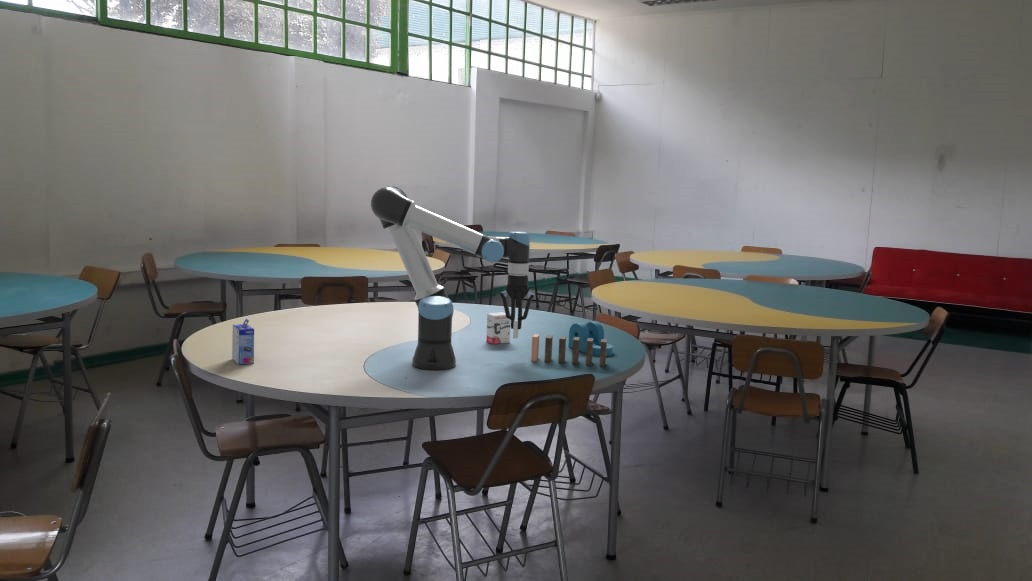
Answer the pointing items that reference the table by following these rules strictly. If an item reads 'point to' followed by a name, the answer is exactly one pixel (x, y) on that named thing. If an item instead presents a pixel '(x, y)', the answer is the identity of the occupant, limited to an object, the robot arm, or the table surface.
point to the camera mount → (586, 332)
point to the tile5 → (589, 351)
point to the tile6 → (603, 352)
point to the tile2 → (548, 348)
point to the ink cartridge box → (243, 343)
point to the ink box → (498, 328)
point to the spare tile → (535, 347)
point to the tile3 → (562, 349)
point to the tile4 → (575, 350)
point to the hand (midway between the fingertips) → (515, 337)
